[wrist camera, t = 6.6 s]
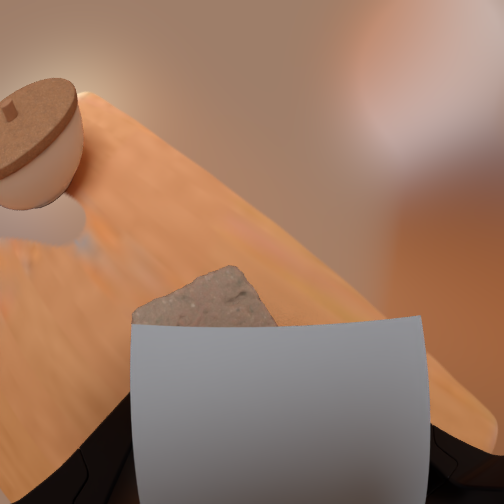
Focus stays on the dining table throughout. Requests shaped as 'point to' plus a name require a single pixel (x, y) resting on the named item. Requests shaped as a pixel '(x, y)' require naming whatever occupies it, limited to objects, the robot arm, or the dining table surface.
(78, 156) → the lidded bowl
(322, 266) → the dining table surface
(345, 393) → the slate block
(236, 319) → the brick
